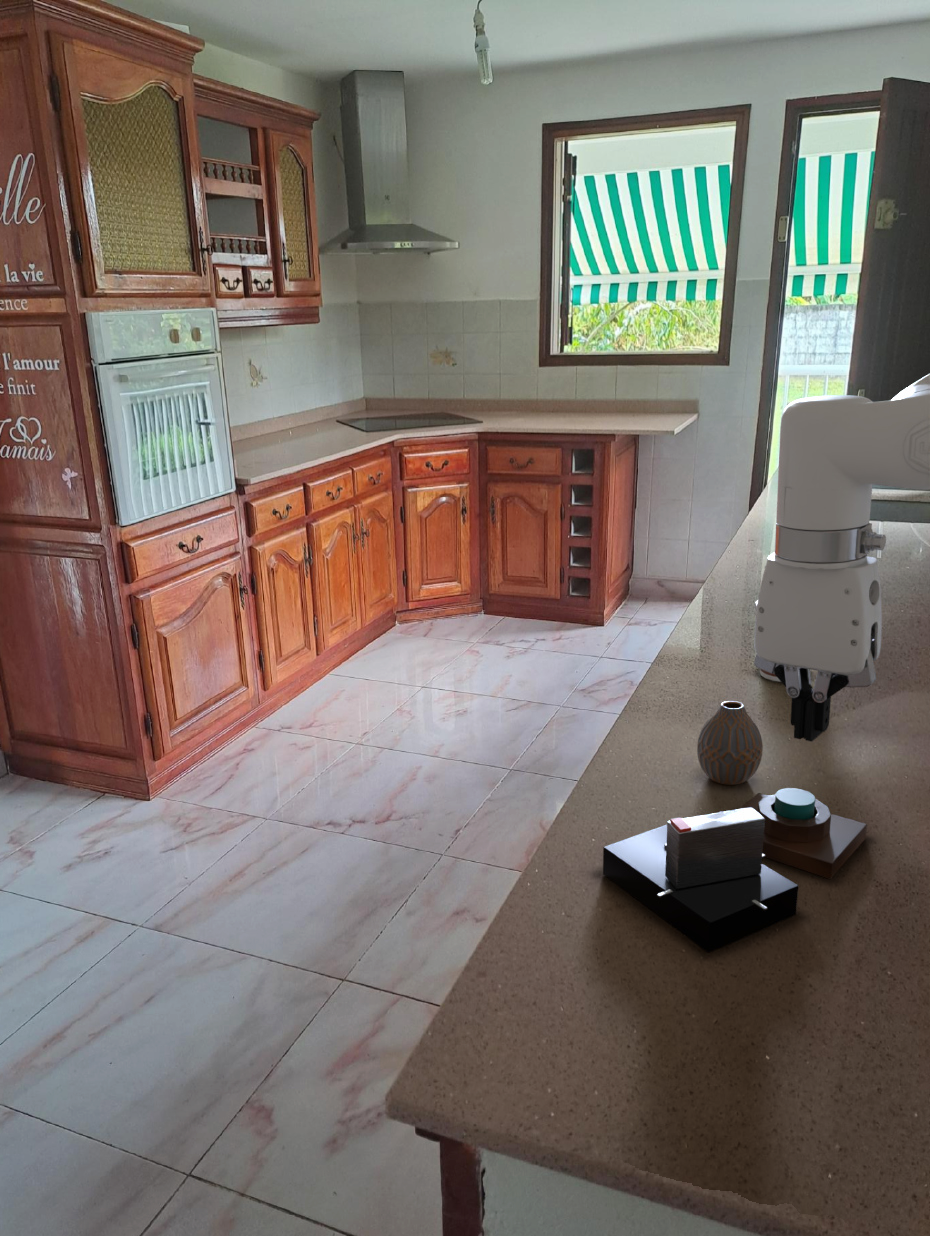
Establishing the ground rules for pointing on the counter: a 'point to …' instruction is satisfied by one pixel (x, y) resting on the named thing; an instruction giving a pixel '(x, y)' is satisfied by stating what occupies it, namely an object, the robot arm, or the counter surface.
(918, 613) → the counter surface
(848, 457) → the robot arm
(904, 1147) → the counter surface
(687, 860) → the metal block
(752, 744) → the vase
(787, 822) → the brown square base
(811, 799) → the button
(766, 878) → the black rectangular base
